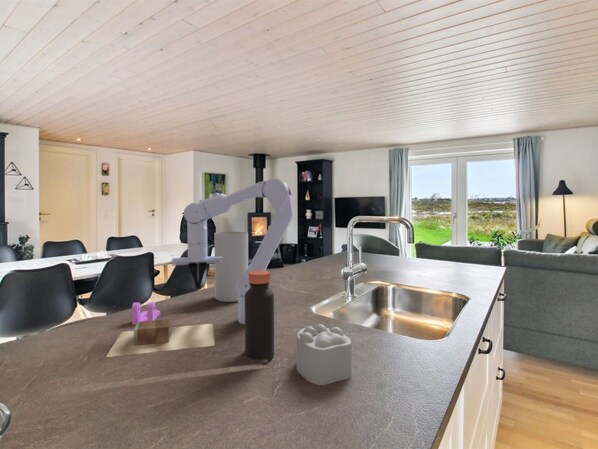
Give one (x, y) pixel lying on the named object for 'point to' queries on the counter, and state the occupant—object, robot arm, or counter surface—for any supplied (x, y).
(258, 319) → the bottle
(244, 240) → the cylinder vase
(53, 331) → the counter surface
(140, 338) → the walnut block
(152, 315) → the bracket
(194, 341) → the birch board
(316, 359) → the lumpy-topped squat cylinder
